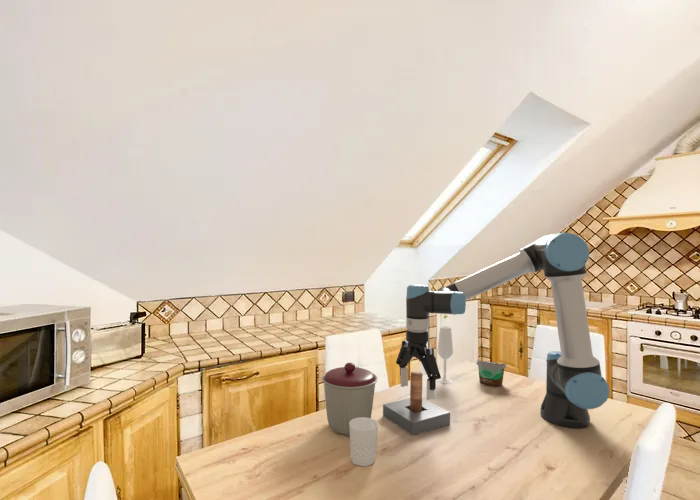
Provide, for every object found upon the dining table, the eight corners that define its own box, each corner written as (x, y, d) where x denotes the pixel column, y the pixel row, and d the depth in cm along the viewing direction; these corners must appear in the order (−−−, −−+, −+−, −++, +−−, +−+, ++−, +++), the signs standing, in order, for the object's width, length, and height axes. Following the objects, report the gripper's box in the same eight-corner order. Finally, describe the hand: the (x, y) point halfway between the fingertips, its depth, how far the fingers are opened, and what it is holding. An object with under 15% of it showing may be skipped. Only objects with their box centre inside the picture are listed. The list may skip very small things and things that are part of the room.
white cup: (349, 451, 109) (349, 416, 109) (376, 452, 109) (377, 417, 109) (348, 467, 101) (348, 429, 101) (377, 468, 101) (378, 430, 101)
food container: (473, 384, 166) (474, 361, 166) (476, 380, 171) (476, 358, 171) (504, 390, 160) (504, 366, 160) (505, 385, 165) (506, 362, 165)
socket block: (449, 424, 127) (450, 412, 127) (412, 435, 119) (412, 422, 119) (418, 406, 141) (418, 396, 141) (382, 415, 133) (383, 404, 133)
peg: (424, 421, 130) (424, 374, 130) (415, 423, 127) (415, 375, 127) (416, 416, 133) (417, 370, 133) (407, 418, 131) (408, 372, 131)
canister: (329, 413, 134) (330, 353, 134) (380, 418, 131) (381, 357, 131) (313, 438, 117) (315, 369, 117) (372, 445, 113) (373, 374, 113)
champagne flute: (446, 377, 174) (447, 325, 174) (455, 382, 168) (456, 328, 168) (434, 379, 172) (434, 326, 172) (442, 384, 165) (443, 329, 165)
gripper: (386, 324, 139) (386, 382, 139) (434, 338, 118) (434, 407, 118) (403, 322, 143) (402, 379, 143) (452, 336, 121) (451, 402, 121)
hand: (416, 392), depth 130 cm, fingers open, 13 cm apart
